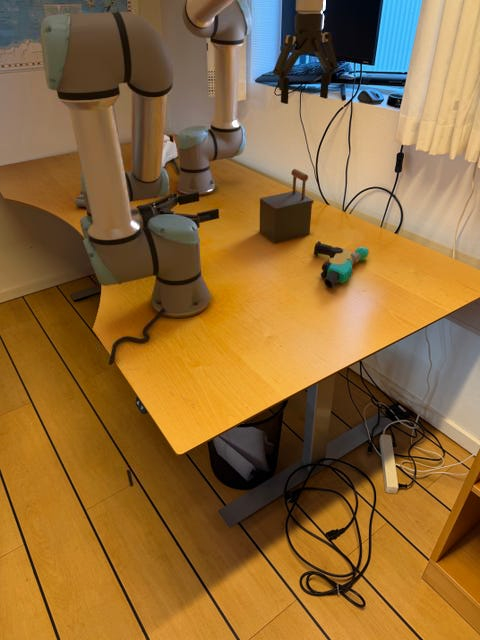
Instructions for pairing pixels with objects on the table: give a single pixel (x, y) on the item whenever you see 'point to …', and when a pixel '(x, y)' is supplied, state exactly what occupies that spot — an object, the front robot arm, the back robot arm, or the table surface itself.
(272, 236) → the chest
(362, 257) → the toy gun
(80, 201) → the toy gun
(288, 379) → the table surface
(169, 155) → the sneaker
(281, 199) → the lid
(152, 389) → the table surface
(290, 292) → the table surface
